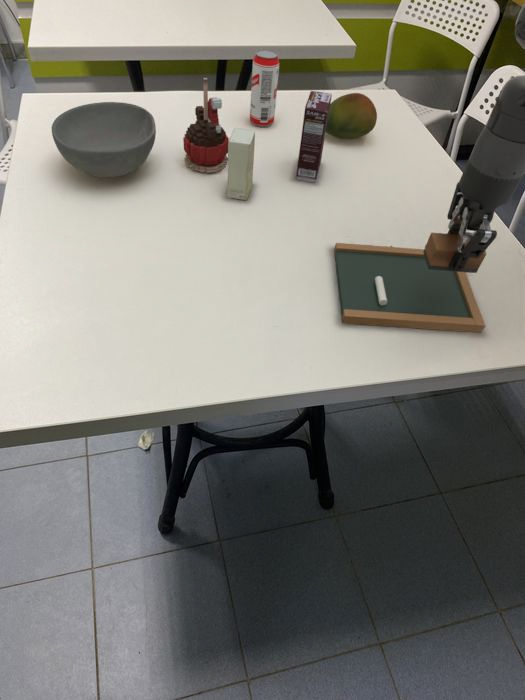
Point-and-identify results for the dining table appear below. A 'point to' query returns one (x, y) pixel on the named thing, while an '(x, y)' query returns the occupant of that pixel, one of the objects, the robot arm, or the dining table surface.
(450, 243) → the eraser
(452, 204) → the robot arm
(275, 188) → the dining table surface
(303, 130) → the supplement box
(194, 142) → the cake
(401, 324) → the slate board
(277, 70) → the beer can
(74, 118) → the bowl
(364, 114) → the fruit
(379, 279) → the chalk
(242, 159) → the cosmetic box
